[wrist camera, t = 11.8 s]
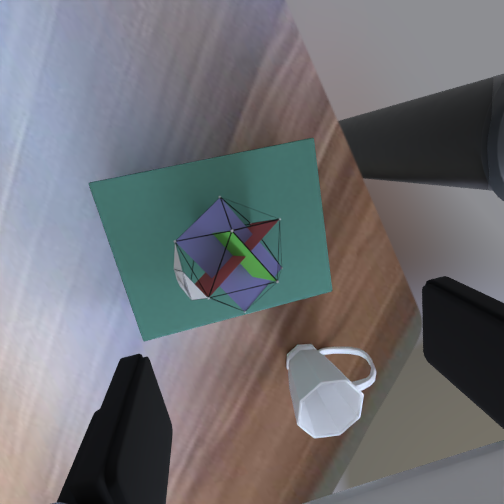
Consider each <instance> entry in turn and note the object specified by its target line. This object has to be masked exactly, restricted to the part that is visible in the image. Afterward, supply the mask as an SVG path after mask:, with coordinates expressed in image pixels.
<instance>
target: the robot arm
mask: <svg viewBox="0 0 504 504" xmlns="http://www.w3.org/2000/svg"><path fill="white" fill-rule="evenodd" d="M422 304H423V305H422V307H423V352H424V356H425V358H426V360H427V361H428V362H429V363H430V364H431V365H432V366H433V367H434V368H435V369H437V370H438V371H439V372H440V373H441V374H442V375H443V376H445V377H446V378H447V379H448V380H449V381H450V382H451V383H452V384H453V385H455V386H456V387H457V388H458V389H459V390H460V391H461V392H463V393H464V394H465V395H466V396H467V397H468V398H470V400H472V401H473V402H474V403H475V404H476V405H477V406H478V407H479V408H481V409H482V410H483V411H484V412H485V413H486V414H488V415H489V416H490V417H491V418H492V419H493V420H494V421H495V422H496V423H498V424H499V425H500V426H501V427H503V429H504V303H502V302H500V301H498V300H496V299H494V298H492V297H490V296H487V295H485V294H483V293H481V292H479V291H477V290H475V289H473V288H470V287H468V286H466V285H464V284H462V283H460V282H457V281H455V280H453V279H451V278H449V277H446V276H444V277H439V278H436V279H431V280H428V281H427V282H426V285H425V286H424V287H423V289H422ZM171 445H172V424H171V420H170V418H169V415H168V412H167V409H166V406H165V403H164V400H163V397H162V394H161V392H160V389H159V386H158V383H157V380H156V377H155V374H154V371H153V368H152V366H151V363H150V360H149V358H148V357H142V355H141V354H136V355H132V356H128V357H124V358H121V359H120V361H119V363H118V366H117V368H116V371H115V373H114V376H113V378H112V381H111V383H110V386H109V388H108V391H107V393H106V396H105V398H104V401H103V403H102V406H101V408H100V409H99V410H97V411H96V412H95V413H94V415H93V417H92V419H91V422H90V424H89V426H88V429H87V431H86V434H85V436H84V438H83V441H82V443H81V445H80V448H79V450H78V453H77V455H76V457H75V460H74V462H73V465H72V467H71V469H70V472H69V474H68V476H67V479H66V481H65V484H64V486H63V488H62V491H61V493H60V496H59V498H58V500H57V503H52V504H166V495H167V485H168V475H169V465H170V455H171ZM303 504H504V440H502V441H499V442H496V443H492V444H489V445H486V446H483V447H480V448H476V449H473V450H470V451H467V452H463V453H460V454H457V455H454V456H451V457H448V458H444V459H441V460H438V461H435V462H432V463H429V464H426V465H422V466H419V467H416V468H413V469H410V470H406V471H403V472H400V473H397V474H394V475H391V476H388V477H385V478H381V479H378V480H375V481H372V482H369V483H365V484H362V485H359V486H356V487H353V488H350V489H347V490H344V491H340V492H338V493H334V494H331V495H328V496H325V497H322V498H319V499H316V500H313V501H310V502H306V503H303Z"/></svg>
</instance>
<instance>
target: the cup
mask: <svg viewBox="0 0 504 504" xmlns="http://www.w3.org/2000/svg"><path fill="white" fill-rule="evenodd" d="M334 353H339V354H354V355H360V356H361V357H363V358H365V359H366V360H367V361H368V363H369V364H370V366H371V372H370V375H369V376H368V377H367V378H365V379H361V380H358V381H353V382H351V381H350V380H349V379H348V378H347V377H346V376H345V375H344V374H343V373H342V372H341V371H340V370H339V369H338V368H337V367H336V366H335V365H334V364H333V363H332V362H330V361H329V360H328V359H327V358H326V357H325V356H324V355H325V354H334ZM286 368H287V369H288V378H289V389H290V393H291V398H292V402H293V407H294V412H295V417H296V421H297V425H298V426H299V427H301V428H302V429H303V430H304V431H306V432H307V433H308V434H309V435H311V436H312V437H313V438H322V437H330V436H337V435H341V434H342V433H343V432H344V431H345V430H346V429H348V428H349V427H350V426H351V425H352V424H353V423H354V422H356V421H357V420H358V419H359V418H360V416H361V410H362V404H363V398H364V394H363V393H362V392H361V390H364V389H365V388H367V387H369V386H371V385H372V384H373V382H374V381H375V377H376V370H375V366H374V364H373V362H372V359H371V358H370V356H369V355H368V354H367V353H366V352H364V351H363V350H361V349H359V348H353V347H327V348H322V349H319V350H317V349H316V348H315V347H314V346H313V345H312V344H303V345H297V346H296V347H295V348H293V349H292V350H291V351H290V352H289V353H288V354H287V360H286Z"/></svg>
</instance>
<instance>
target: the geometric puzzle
mask: <svg viewBox="0 0 504 504" xmlns="http://www.w3.org/2000/svg"><path fill="white" fill-rule="evenodd" d="M224 199H225V198H224ZM224 199H223V198H222V197H221V196H219V199H218V200H216V201H215V202H214V203H213V204H212V205H211V206H210V207H209V208H208V209H207V210H206V211H205V212H204V213H203V214H202V215H201V216H200V217H199V218H198V219H197V220H196V221H195V222H194V223H193V224H192V225H191V226H190V227H189V228H188V229H187V230H186V231H185V232H184V233H183V234H182V235H181V236H180V237H179V238H178V239H177V240H174V243H176V244H175V249H174V271H175V274H176V279H177V281H178V283H179V285H180V287H181V288H182V289H183V291H184V292H185V293H186V294H187V295H188V297H189V298H190V299H191V300H199V299H206V298H207V299H211V298H212V300H215V301H216V299H213V297H217V296H222V295H226V294H228V295H229V296H230V297H231V298H232V299H233V300H234V301H235V302H236V303H237V304H238V305H239V306H240V307H241V308H242V309H243V310H244V313H246V311H247V310H248V309H249V308H250V307H251V306H252V305H253V304H254V303H253V302H254V301H255V300H256V298H257V297H258V296H259V295H260V294H261V292H262V291H263V290H264V289H265V288H266V286H267V285H268V284H272V283H275V284H276V283H279V281H278V279H279V278H278V272H279V271H280V270H282V269H283V267H281V265H280V264H279V243H278V261H277V259H276V258H275V257H274V255H273V254H272V252H271V251H270V249H269V248H268V246H267V245H266V244H265V242H264V241H263V239H262V238H263V237H264V236H265V235H266V234H267V233H268V232H269V231H270V229H271V228H272V227H273V226H274V225H275V224H276V223H277V222H278V221H279V233H280V220H281V218H279V219H278V218H277V219H274V220H267V221H261V222H255V223H251V222H249V221H248V220H247V219H246V218H245V217H244V216H242V215H241V214H240V213H239V212H238V211H237V210H236V209H234V208H233V207H232V206H231V205H230V204H229V203H227V202H226V201H225V200H224ZM226 200H227V199H226ZM229 201H230V200H229ZM225 202H226V203H227V204H228V205H229V206H230V207H231V208H233V209H234V210H235V211H236V212H237V213H238V214H240V215H241V216H242V217H243V218H244V219H245V220H247V221H248V222H249V224H243V222H242V221H241V220H240V219H239V218H238V217H237V216H236V214H235V213H234V212H233V211H232V210H231V209H230V207H229V206H228V205H227V204H226V203H225ZM232 202H233V201H232ZM234 203H235V202H234ZM237 204H238V203H237ZM240 205H241V204H240ZM242 206H243V205H242ZM245 207H246V206H245ZM248 208H249V207H248ZM251 209H252V208H251ZM253 210H254V209H253ZM256 211H257V210H256ZM259 212H260V211H259ZM261 213H262V212H261ZM264 214H265V213H264ZM267 215H268V214H267ZM269 216H270V215H269ZM272 217H273V216H272ZM275 218H276V217H275ZM246 225H249V226H246ZM261 240H262V241H263V243H264V244H265V246H266V247H267V248H268V250H269V251H270V253H271V254H272V256H273V257H274V258H273V257H272V256H271V255H270V253H269V252H268V251H267V250H266V249H265V248H264V247H263V245H262V244H261V243H260V241H261ZM280 242H281V233H280ZM177 244H178V245H179V246H180V247H181V248H182V249H183V250H184V251H185V252H186V253H187V254H188V255H189V256H190V257H191V258H192V259H193V266H194V261H195V262H196V263H197V264H198V265H199V266H200V267H201V268H202V269H203V270H204V271H205V273H204V275H203V276H202V277H201V278H200V279H199V280H198V278H197V277H196V275H195V273H194V272H193V266H192V268H191V267H190V265H189V263H188V262H187V263H188V265H189V267H190V268H191V270H192V273H194V275H195V277H196V278H197V280H198V281H197V282H196V283H195V284H194V283H193V282H192V281H191V280H192V274H191V280H190V279H189V278H188V276H187V275H186V274H185V272H183V271H182V267H181V263H182V262H181V263H180V260H181V259H179V257H180V255H178V253H179V252H177V250H178V249H177V248H176V247H177V246H178V245H177ZM179 246H178V248H179ZM179 250H180V248H179ZM180 251H181V250H180ZM181 253H182V251H181ZM182 255H183V253H182ZM183 256H184V255H183ZM184 258H185V256H184ZM185 260H186V258H185ZM186 261H187V260H186ZM276 261H277V262H276ZM281 264H282V256H281ZM182 266H183V265H182ZM183 270H184V268H183ZM280 273H281V272H280ZM276 275H277V279H276V278H275V276H276ZM279 276H280V275H279ZM271 281H276V282H272V283H270V282H271ZM275 284H274V285H275ZM274 285H273V286H274ZM219 286H220V287H221V288H222V289H223V290H224V291H225V292H226V293H225V294H221V295H217V296H213V297H210V296H211V295H212V294H213V293H214V292H215V290H216V289H217V288H218V287H219ZM273 286H272V287H273ZM267 291H268V290H267ZM267 291H266V292H267ZM266 292H265V293H266ZM265 293H264V294H265ZM264 294H263V295H264ZM263 295H262V296H263ZM262 296H261V297H262ZM261 297H260V298H261ZM260 298H259V299H260ZM217 302H220V303H222V304H225V305H228V304H226V303H223V302H221V301H218V300H217ZM252 303H253V304H252ZM251 304H252V305H251ZM228 306H230V307H233V306H231V305H228ZM233 308H235V307H233ZM236 309H238V308H236ZM238 310H240V309H238ZM243 310H241V311H243Z"/></svg>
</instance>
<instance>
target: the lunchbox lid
mask: <svg viewBox="0 0 504 504" xmlns="http://www.w3.org/2000/svg"><path fill="white" fill-rule="evenodd" d="M89 186H90V189H91V192H92V195H93V198H94V201H95V204H96V207H97V209H98V212H99V215H100V218H101V221H102V224H103V227H104V229H105V232H106V235H107V238H108V241H109V244H110V247H111V250H112V252H113V255H114V258H115V261H116V264H117V267H118V270H119V272H120V275H121V278H122V281H123V284H124V287H125V290H126V293H127V295H128V298H129V301H130V304H131V307H132V310H133V313H134V315H135V318H136V321H137V324H138V327H139V330H140V333H141V336H142V338H143V341H147V340H151V339H155V338H159V337H162V336H166V335H170V334H174V333H177V332H181V331H185V330H189V329H192V328H196V327H200V326H204V325H207V324H211V323H215V322H219V321H222V320H226V319H230V318H234V317H237V316H241V315H245V314H249V313H252V312H256V311H260V310H264V309H267V308H271V307H275V306H279V305H282V304H286V303H290V302H294V301H297V300H301V299H305V298H309V297H312V296H316V295H320V294H324V293H327V292H331V291H332V284H331V275H330V267H329V259H328V251H327V243H326V234H325V226H324V218H323V210H322V202H321V193H320V185H319V177H318V169H317V160H316V152H315V144H314V138H309V139H304V140H299V141H294V142H289V143H284V144H279V145H274V146H269V147H264V148H259V149H254V150H249V151H244V152H239V153H234V154H229V155H224V156H219V157H214V158H210V159H205V160H200V161H195V162H190V163H185V164H180V165H175V166H170V167H165V168H160V169H155V170H150V171H145V172H140V173H135V174H130V175H125V176H120V177H115V178H110V179H105V180H100V181H95V182H90V183H89ZM219 196H221V197H222V198H223V199H224V198H225V199H224V200H225V201H226V202H227V203H229V204H230V205H231V206H232V207H233V208H234V209H236V210H237V211H238V212H239V213H240V214H241V215H242V216H244V217H245V218H246V219H247V220H248V221H249V222H251V223H255V222H261V221H267V220H274V219H277V218H278V219H279V218H281V220H280V233H281V242H280V233H279V221H278V222H277V223H276V224H275V225H274V226H273V227H272V228H271V229H270V231H269V232H268V233H267V234H266V235H265V236H264V237H263V238H262V239H263V241H264V242H265V244H266V245H267V246H268V248H269V249H270V251H271V252H272V254H273V255H274V257H275V258H276V259H277V261H278V243H279V264H280V265H281V267H283V269H282V270H280V271H279V272H278V278H279V279H278V281H279V283H276V284H275V283H272V282H276V281H271V282H270V283H272V284H268V285H267V286H266V288H265V289H264V290H263V291H262V292H261V294H260V295H259V296H258V297H257V298H256V300H255V301H254V302H253V303H254V304H253V303H252V304H253V305H252V304H251V305H252V306H251V307H250V308H249V309H248V310H247V311H246V313H244V310H243V309H242V308H241V307H240V306H239V305H238V304H237V303H236V302H235V301H234V300H233V299H232V298H231V297H230V296H229V295H228V294H226V295H222V296H217V295H221V294H225V293H226V292H225V291H224V290H223V289H222V288H221V287H220V286H219V287H218V288H217V289H216V290H215V292H214V293H213V294H212V295H211V296H210V297H213V296H217V297H213V299H216V301H215V300H212V298H211V299H207V298H206V299H199V300H191V299H190V298H189V297H188V295H187V294H186V293H185V292H184V291H183V289H182V288H181V287H180V285H179V283H178V281H177V279H176V274H175V271H174V249H175V244H176V243H174V240H177V239H178V238H179V237H180V236H181V235H182V234H183V233H184V232H185V231H186V230H187V229H188V228H189V227H190V226H191V225H192V224H193V223H194V222H195V221H196V220H197V219H198V218H199V217H200V216H201V215H202V214H203V213H204V212H205V211H206V210H207V209H208V208H209V207H210V206H211V205H212V204H213V203H214V202H215V201H216V200H218V199H219ZM226 199H227V200H226ZM229 200H230V201H229ZM232 201H233V202H232ZM226 202H225V203H226ZM234 202H235V203H234ZM227 203H226V204H227ZM237 203H238V204H237ZM240 204H241V205H240ZM227 205H228V204H227ZM242 205H243V206H242ZM228 206H229V205H228ZM245 206H246V207H245ZM229 207H230V206H229ZM248 207H249V208H248ZM233 208H231V207H230V209H231V210H232V211H233V212H234V213H235V214H236V216H237V217H238V218H239V219H240V220H241V221H242V222H243V224H249V222H248V221H247V220H245V219H244V218H243V217H242V216H241V215H240V214H238V213H237V212H236V211H235V210H234V209H233ZM251 208H252V209H251ZM253 209H254V210H253ZM256 210H257V211H256ZM259 211H260V212H259ZM261 212H262V213H261ZM264 213H265V214H264ZM267 214H268V215H267ZM269 215H270V216H269ZM272 216H273V217H272ZM275 217H276V218H275ZM246 226H249V225H246ZM263 241H262V240H261V241H260V243H261V244H262V245H263V247H264V248H265V249H266V250H267V251H268V252H269V253H270V251H269V250H268V248H267V247H266V246H265V244H264V243H263ZM177 245H178V244H177ZM178 246H179V245H178ZM178 246H177V247H176V248H177V249H178V250H177V252H179V253H178V255H180V257H179V259H181V260H180V263H181V262H182V263H181V267H182V271H183V272H185V274H186V275H187V276H188V278H189V279H190V280H191V274H192V280H191V281H192V282H193V283H194V284H195V283H196V282H197V281H198V280H199V279H200V278H201V277H202V276H203V275H204V273H205V271H204V270H203V269H202V268H201V267H200V266H199V265H198V264H197V263H196V262H195V261H194V266H193V259H192V258H191V257H190V256H189V255H188V254H187V253H186V252H185V251H184V250H183V249H182V248H181V247H180V246H179V248H180V250H181V251H182V253H183V255H184V256H185V258H186V260H187V261H186V260H185V258H184V256H183V255H182V253H181V251H180V250H179V248H178ZM272 254H271V253H270V255H271V256H272ZM281 256H282V264H281ZM272 257H273V256H272ZM274 257H273V258H274ZM277 261H276V262H277ZM187 262H188V263H189V265H190V267H191V268H192V266H193V272H194V273H195V275H196V277H197V278H198V280H197V278H196V277H195V275H194V273H192V270H191V268H190V267H189V265H188V263H187ZM182 265H183V266H182ZM183 268H184V270H183ZM280 272H281V273H280ZM279 275H280V276H279ZM275 278H276V279H277V275H276V276H275ZM274 284H275V285H274ZM273 285H274V286H273ZM272 286H273V287H272ZM267 290H268V291H267ZM266 291H267V292H266ZM265 292H266V293H265ZM264 293H265V294H264ZM263 294H264V295H263ZM262 295H263V296H262ZM261 296H262V297H261ZM260 297H261V298H260ZM259 298H260V299H259ZM217 300H218V301H221V302H223V303H226V304H228V305H231V306H233V307H235V308H233V307H230V306H228V305H225V304H222V303H220V302H217ZM236 308H238V309H240V310H238V309H236ZM241 310H243V311H241Z"/></svg>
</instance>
